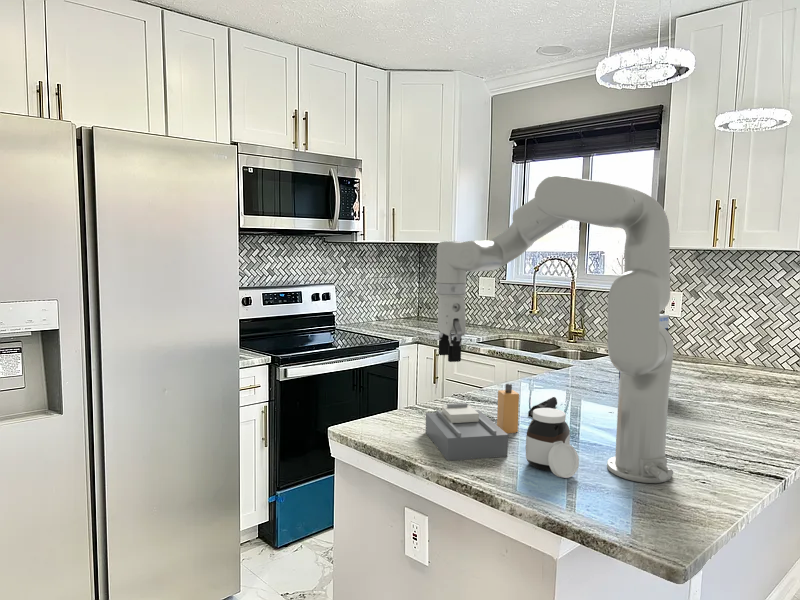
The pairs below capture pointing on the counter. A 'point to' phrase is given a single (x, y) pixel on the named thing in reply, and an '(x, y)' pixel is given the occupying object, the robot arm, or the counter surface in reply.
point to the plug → (508, 409)
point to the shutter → (460, 413)
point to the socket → (466, 437)
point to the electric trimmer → (544, 405)
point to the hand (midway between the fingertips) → (449, 357)
